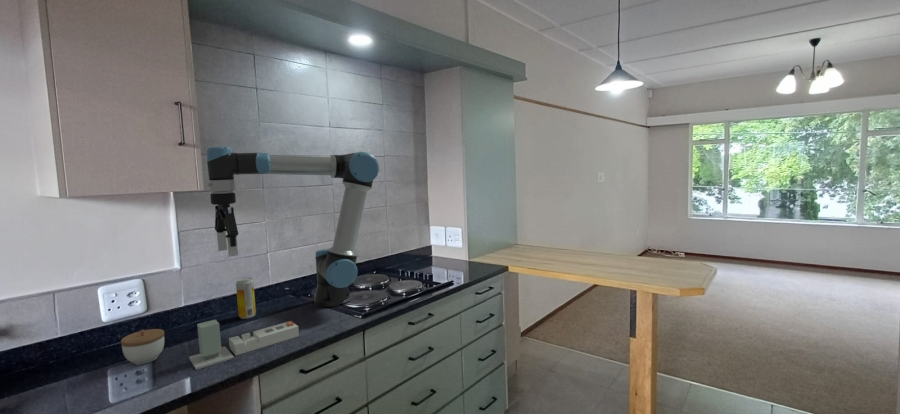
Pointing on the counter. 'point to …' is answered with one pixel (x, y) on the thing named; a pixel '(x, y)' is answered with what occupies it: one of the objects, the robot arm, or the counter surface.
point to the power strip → (263, 337)
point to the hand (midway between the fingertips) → (227, 253)
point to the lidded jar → (143, 346)
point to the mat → (200, 361)
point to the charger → (209, 339)
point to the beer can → (245, 298)
